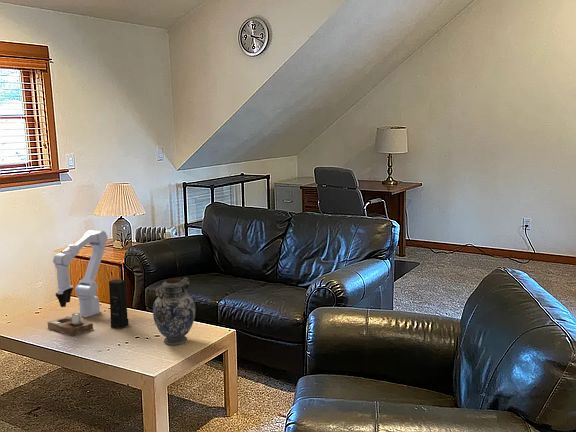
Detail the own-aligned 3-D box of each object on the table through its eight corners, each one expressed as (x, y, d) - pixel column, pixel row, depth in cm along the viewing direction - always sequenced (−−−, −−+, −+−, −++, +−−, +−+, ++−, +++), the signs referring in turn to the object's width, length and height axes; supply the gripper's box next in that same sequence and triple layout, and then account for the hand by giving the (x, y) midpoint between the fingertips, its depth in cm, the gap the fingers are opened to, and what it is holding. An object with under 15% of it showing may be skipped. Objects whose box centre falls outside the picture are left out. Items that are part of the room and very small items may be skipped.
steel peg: (79, 328, 273) (78, 312, 272) (83, 330, 270) (82, 314, 269) (71, 330, 270) (70, 314, 269) (74, 332, 267) (73, 316, 266)
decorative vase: (174, 330, 268) (172, 272, 263) (206, 336, 259) (204, 277, 255) (142, 345, 249) (140, 283, 245) (176, 353, 241) (174, 289, 236)
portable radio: (108, 327, 274) (105, 276, 270) (116, 323, 279) (113, 273, 276) (121, 329, 271) (118, 278, 267) (129, 325, 276) (126, 275, 273)
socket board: (68, 321, 283) (67, 315, 282) (93, 329, 271) (92, 322, 271) (47, 328, 274) (47, 321, 274) (72, 336, 263) (72, 329, 262)
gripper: (68, 281, 271) (70, 308, 273) (75, 273, 285) (77, 299, 287) (52, 281, 270) (54, 309, 272) (61, 274, 285) (63, 300, 287)
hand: (65, 304), depth 280 cm, fingers open, 7 cm apart
